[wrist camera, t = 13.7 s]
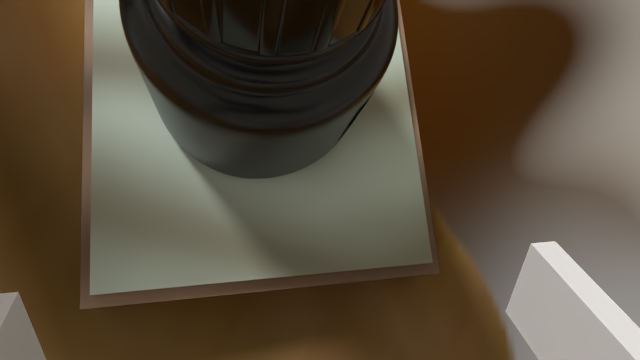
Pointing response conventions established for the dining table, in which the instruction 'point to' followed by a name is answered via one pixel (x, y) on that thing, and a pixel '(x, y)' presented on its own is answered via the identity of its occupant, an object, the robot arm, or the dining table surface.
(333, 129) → the ink bottle
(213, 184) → the mat platform
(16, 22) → the dining table surface
